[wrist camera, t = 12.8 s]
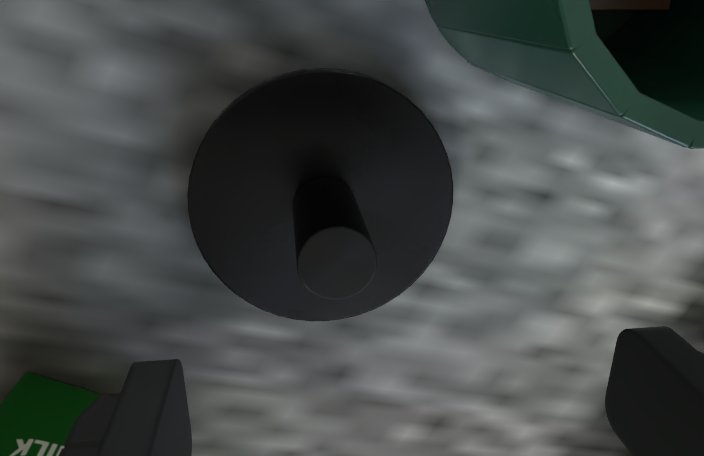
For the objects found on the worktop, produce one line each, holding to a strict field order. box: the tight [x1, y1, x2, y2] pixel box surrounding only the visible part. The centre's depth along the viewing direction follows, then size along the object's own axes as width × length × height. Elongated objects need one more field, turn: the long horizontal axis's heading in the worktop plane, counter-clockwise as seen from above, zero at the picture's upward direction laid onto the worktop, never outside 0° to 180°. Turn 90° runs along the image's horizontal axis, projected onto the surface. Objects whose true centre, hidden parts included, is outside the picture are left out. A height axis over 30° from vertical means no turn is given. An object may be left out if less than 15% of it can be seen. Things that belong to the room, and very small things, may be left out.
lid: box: [188, 68, 453, 321], centre depth 20 cm, size 10×10×6 cm
